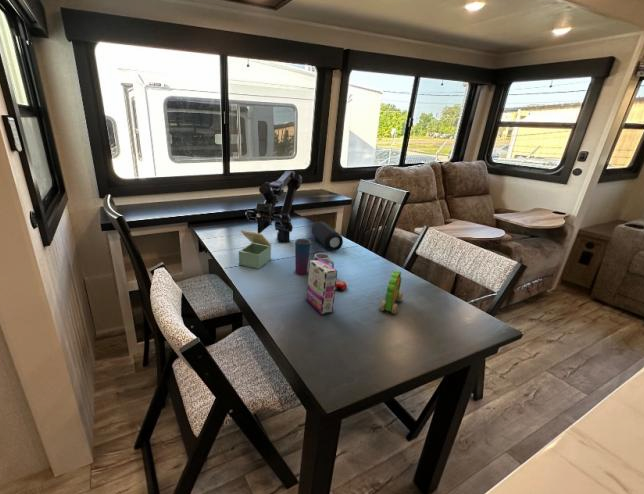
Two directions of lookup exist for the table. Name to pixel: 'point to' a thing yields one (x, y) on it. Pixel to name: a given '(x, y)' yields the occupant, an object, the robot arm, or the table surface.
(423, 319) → the table surface
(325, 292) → the candy bar box
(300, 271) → the cup
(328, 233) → the portable speaker
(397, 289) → the green toy caterpillar
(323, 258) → the mug
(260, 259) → the green hinged box
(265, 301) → the table surface
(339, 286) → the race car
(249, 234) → the lid
